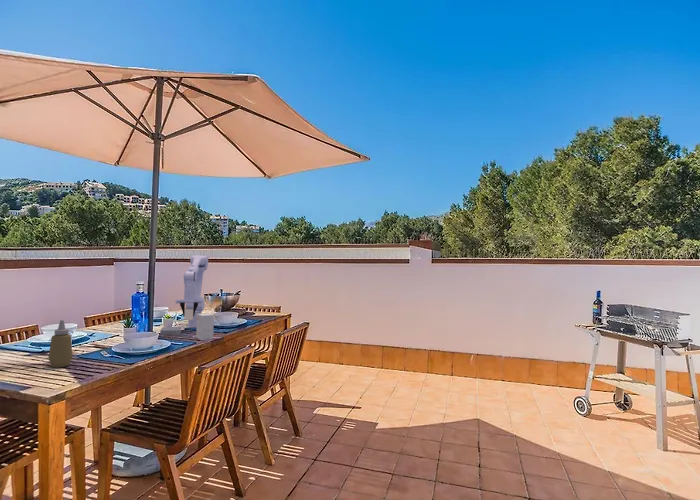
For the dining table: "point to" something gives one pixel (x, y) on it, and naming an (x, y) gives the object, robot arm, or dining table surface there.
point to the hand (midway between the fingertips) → (188, 316)
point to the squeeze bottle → (60, 347)
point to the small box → (205, 326)
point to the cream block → (188, 314)
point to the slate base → (170, 331)
